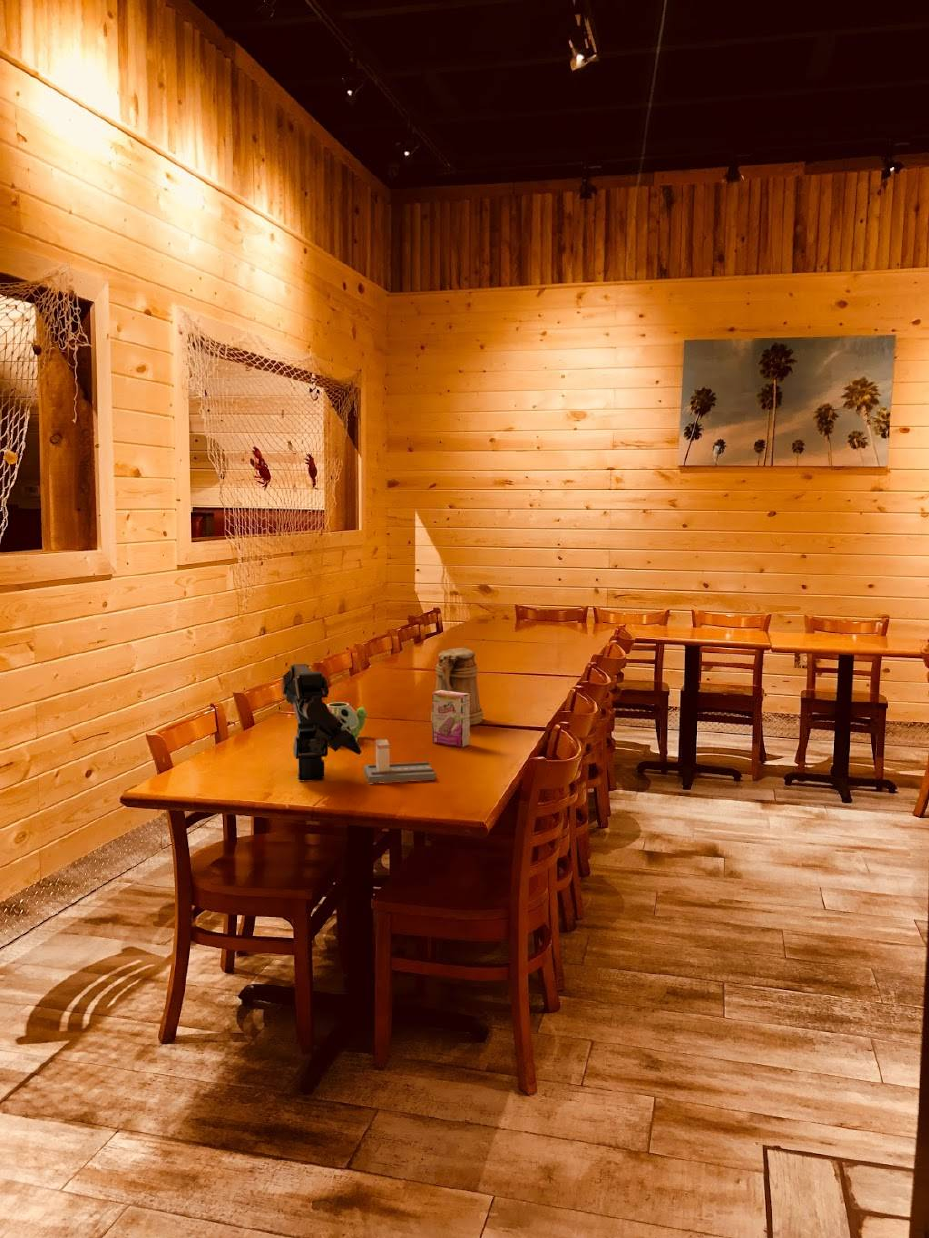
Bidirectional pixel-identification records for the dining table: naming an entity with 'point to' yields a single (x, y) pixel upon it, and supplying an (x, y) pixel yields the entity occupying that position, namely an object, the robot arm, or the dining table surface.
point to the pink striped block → (382, 755)
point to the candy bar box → (451, 718)
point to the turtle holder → (349, 716)
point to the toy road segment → (400, 772)
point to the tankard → (460, 678)
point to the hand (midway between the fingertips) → (360, 753)
